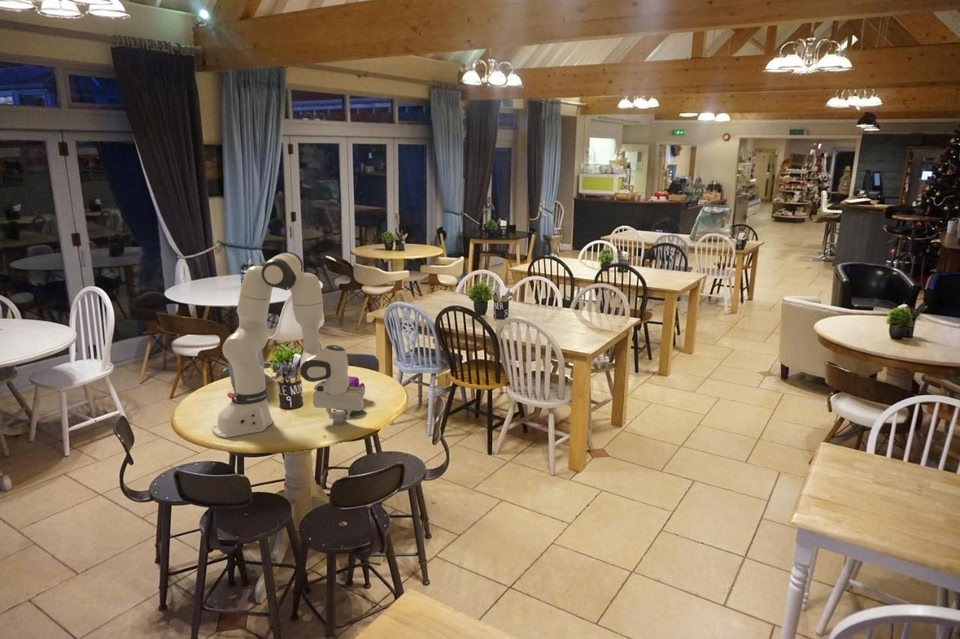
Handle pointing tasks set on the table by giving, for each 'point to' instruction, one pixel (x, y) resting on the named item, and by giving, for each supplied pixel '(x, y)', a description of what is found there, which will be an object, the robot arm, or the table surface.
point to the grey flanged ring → (353, 412)
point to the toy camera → (356, 383)
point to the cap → (339, 417)
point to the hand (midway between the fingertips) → (339, 418)
